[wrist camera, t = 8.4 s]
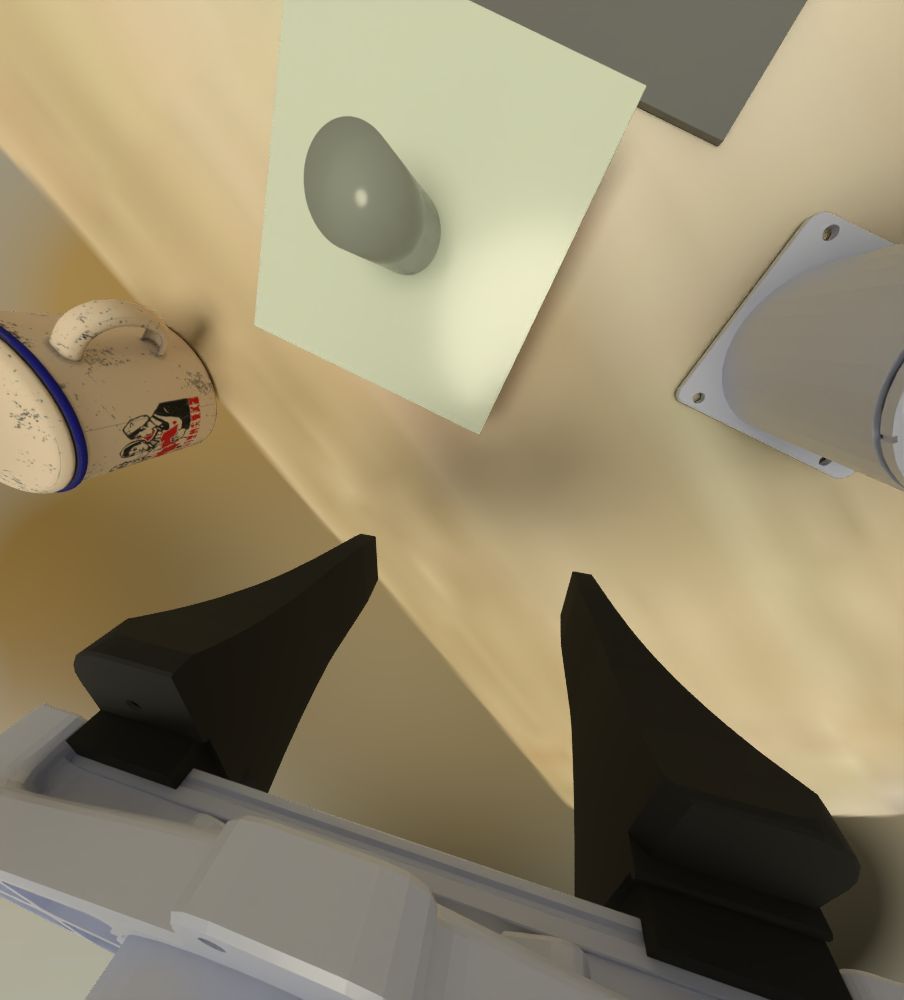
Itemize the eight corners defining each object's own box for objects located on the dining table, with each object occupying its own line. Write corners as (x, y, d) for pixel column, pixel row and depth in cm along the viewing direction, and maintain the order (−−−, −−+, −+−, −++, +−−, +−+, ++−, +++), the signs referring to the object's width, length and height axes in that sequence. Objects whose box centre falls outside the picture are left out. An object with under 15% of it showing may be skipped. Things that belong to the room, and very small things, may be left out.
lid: (639, 101, 11) (718, -73, 6) (481, 430, 17) (460, 467, 12) (307, -59, 11) (137, -351, 6) (265, 325, 17) (162, 322, 12)
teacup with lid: (187, 468, 27) (-25, 549, 17) (92, 370, 25) (-217, 395, 15) (268, 376, 22) (35, 412, 12) (158, 243, 20) (-247, 144, 9)
